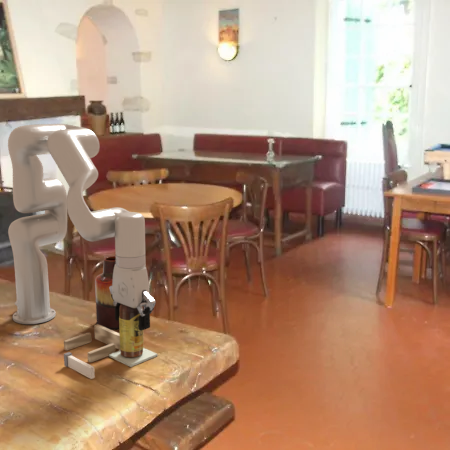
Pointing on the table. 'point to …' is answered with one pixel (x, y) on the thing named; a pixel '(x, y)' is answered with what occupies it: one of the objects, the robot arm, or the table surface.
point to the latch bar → (78, 365)
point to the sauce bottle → (130, 332)
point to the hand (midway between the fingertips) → (132, 323)
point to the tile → (135, 360)
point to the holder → (101, 335)
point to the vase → (106, 296)
